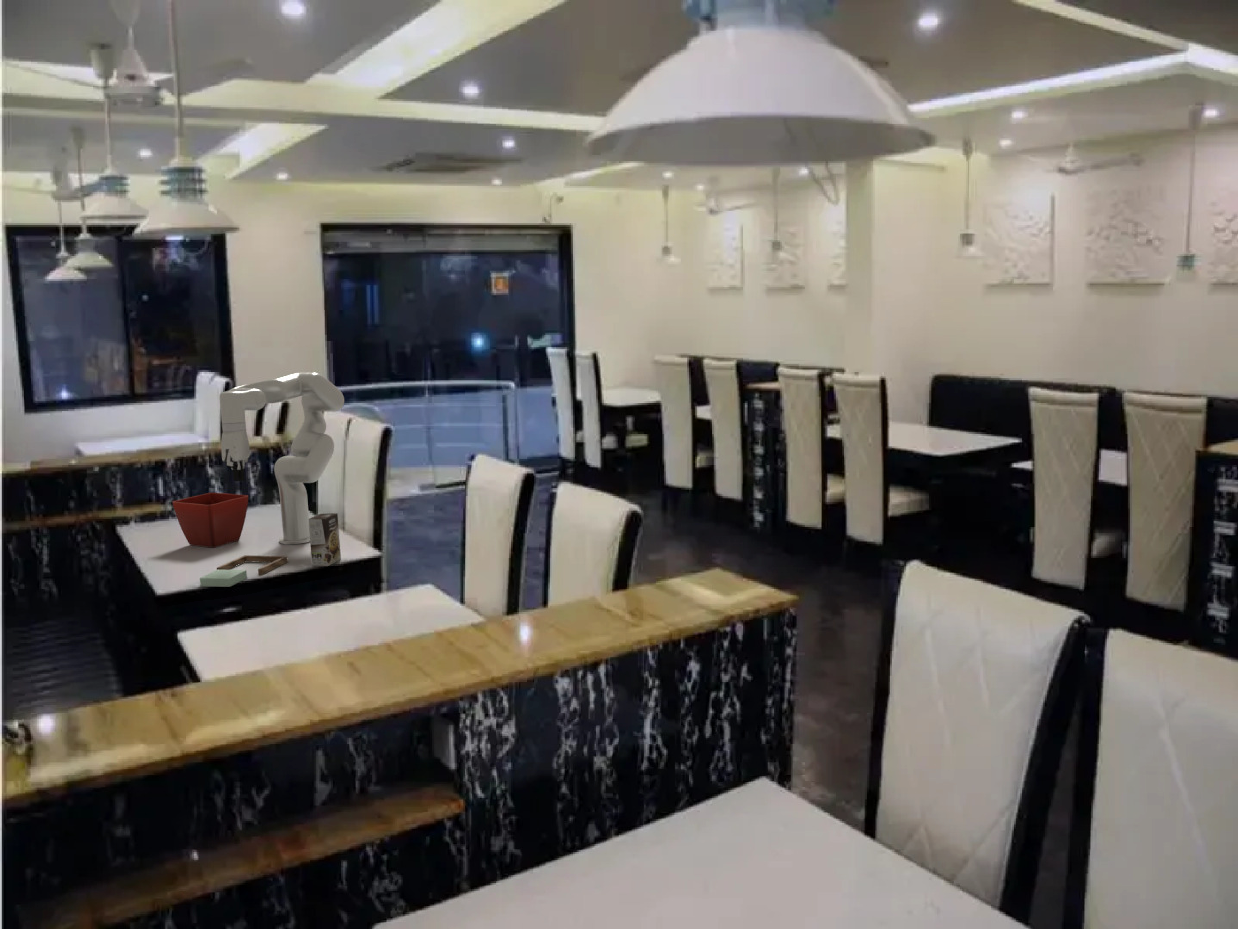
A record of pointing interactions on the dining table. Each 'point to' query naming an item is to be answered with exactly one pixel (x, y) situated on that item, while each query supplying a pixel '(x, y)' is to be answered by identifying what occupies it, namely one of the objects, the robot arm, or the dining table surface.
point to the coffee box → (324, 539)
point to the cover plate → (223, 578)
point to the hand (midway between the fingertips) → (239, 480)
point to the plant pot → (212, 518)
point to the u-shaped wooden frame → (274, 559)
